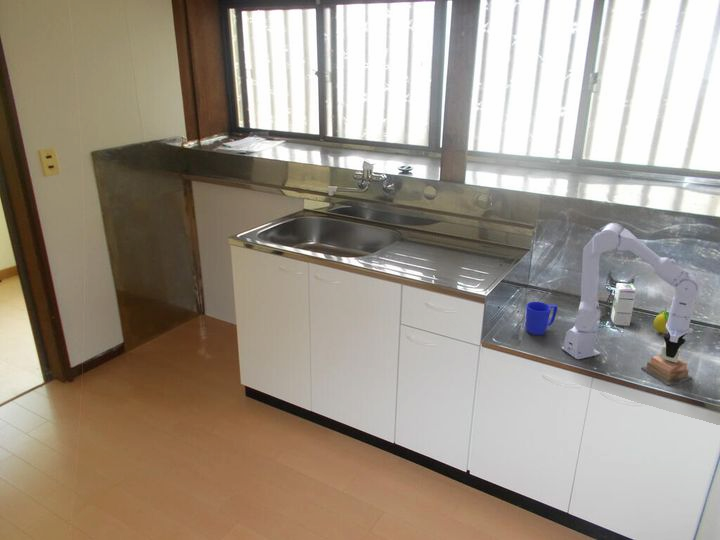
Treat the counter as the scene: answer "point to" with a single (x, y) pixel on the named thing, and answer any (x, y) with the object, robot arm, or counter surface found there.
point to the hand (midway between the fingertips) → (671, 353)
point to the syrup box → (623, 304)
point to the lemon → (661, 321)
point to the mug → (538, 317)
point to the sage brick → (663, 356)
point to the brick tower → (667, 370)
